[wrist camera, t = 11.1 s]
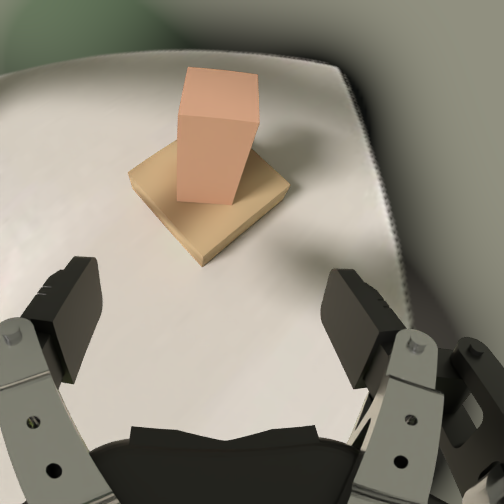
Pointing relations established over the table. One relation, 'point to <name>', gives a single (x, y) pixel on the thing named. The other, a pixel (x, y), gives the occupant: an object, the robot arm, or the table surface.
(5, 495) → the table surface
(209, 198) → the block
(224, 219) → the base slab
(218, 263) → the table surface
